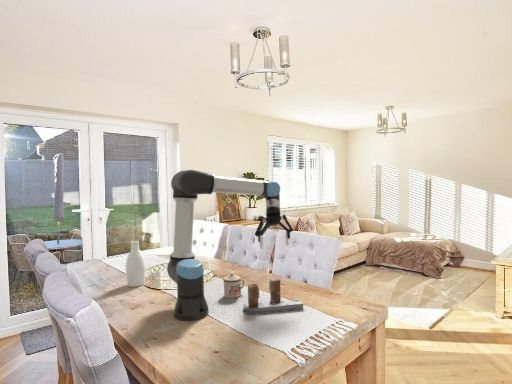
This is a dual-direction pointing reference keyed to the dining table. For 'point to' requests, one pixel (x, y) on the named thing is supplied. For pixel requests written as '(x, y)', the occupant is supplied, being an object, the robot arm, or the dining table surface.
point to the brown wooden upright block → (275, 290)
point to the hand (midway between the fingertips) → (274, 246)
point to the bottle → (135, 266)
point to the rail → (273, 307)
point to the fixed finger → (253, 294)
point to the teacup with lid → (232, 286)
